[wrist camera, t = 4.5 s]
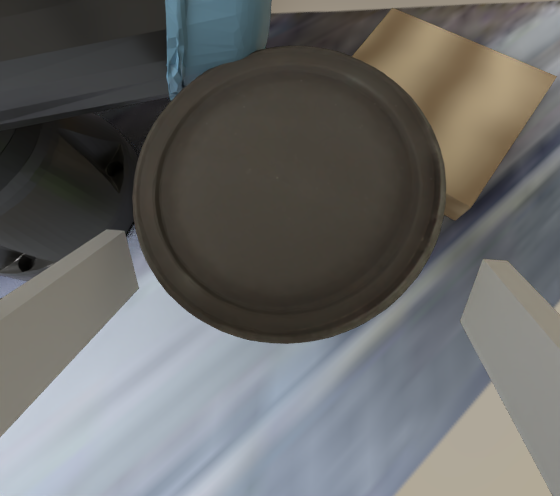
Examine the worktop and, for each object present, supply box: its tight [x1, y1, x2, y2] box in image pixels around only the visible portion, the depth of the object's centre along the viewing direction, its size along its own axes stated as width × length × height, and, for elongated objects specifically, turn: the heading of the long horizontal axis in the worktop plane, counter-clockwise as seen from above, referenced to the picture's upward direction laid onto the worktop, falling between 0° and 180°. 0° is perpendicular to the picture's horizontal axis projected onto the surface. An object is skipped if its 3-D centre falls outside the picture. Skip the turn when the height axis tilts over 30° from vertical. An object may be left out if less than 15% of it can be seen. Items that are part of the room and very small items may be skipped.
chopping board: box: [352, 8, 557, 221], centre depth 25 cm, size 14×13×2 cm
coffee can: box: [132, 46, 446, 344], centre depth 17 cm, size 10×10×14 cm
